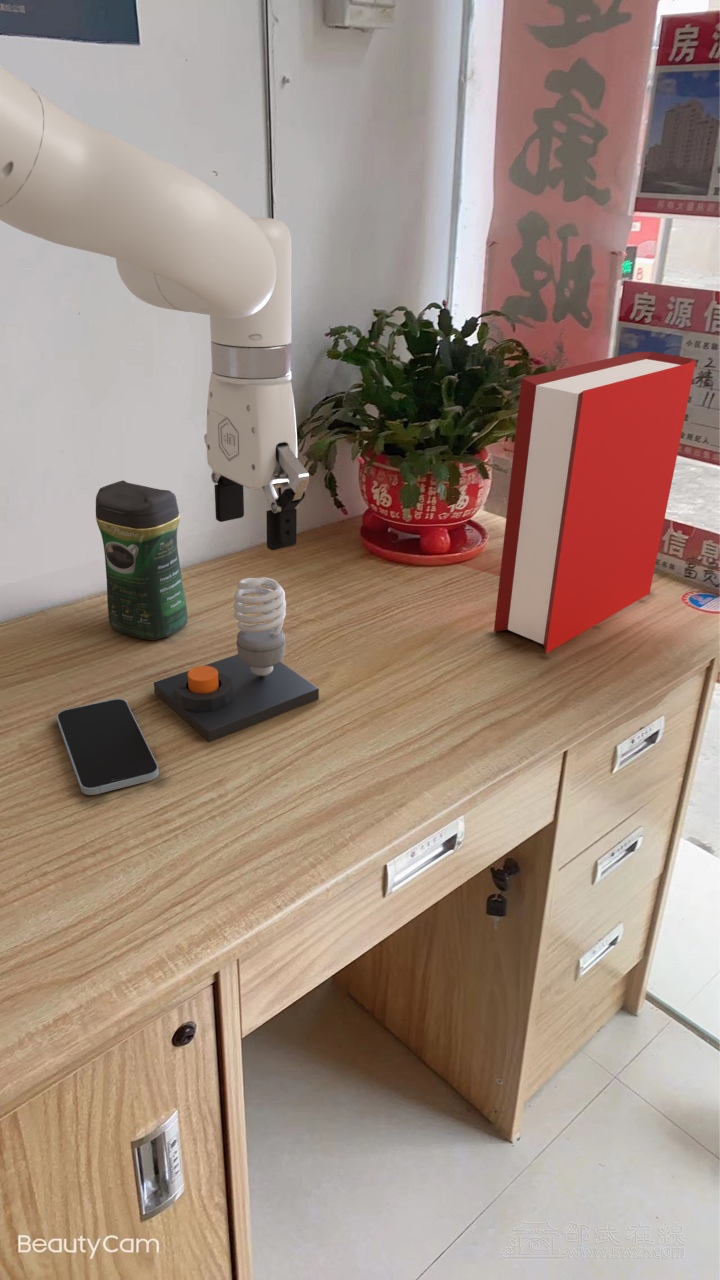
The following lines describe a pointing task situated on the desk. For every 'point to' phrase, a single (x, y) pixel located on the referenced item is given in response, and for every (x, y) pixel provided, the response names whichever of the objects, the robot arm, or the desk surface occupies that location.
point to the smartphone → (106, 746)
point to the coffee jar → (141, 560)
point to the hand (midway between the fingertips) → (255, 532)
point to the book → (589, 491)
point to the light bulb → (260, 641)
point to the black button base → (236, 697)
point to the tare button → (203, 679)
